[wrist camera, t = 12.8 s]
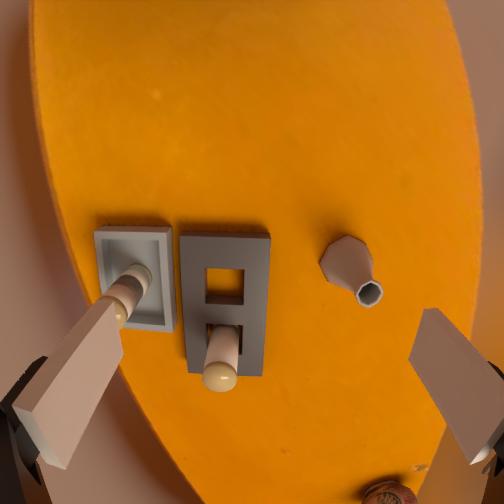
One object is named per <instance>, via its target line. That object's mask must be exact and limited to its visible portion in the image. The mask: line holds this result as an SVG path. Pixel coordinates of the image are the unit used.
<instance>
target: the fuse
mask: <svg viewBox="0 0 504 504" xmlns="http://www.w3.org/2000/svg"><path fill="white" fill-rule="evenodd" d="M239 332H240V329H239V326H238V325H227V324H213V326H212V330H211V335H210V340H209V345H208V349H207V354H206V359H205V364H204V369H203V374H202V381H203V383H204V385H205V386H206V387H207V388H209V389H211V390H213V391H217V392H225V391H228V390H230V389H232V388H233V387H234V386H235V384H236V380H237V364H238V348H239Z"/></svg>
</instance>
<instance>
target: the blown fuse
mask: <svg viewBox="0 0 504 504" xmlns="http://www.w3.org/2000/svg"><path fill="white" fill-rule="evenodd" d="M151 283H152V274H151V272H150V270H149V269H148V268H147V267H146V266H144V265H143V264H139V263H134V264H131V265H130V266H129V267H128V268H127V269H126V270H125V271H124V272H123V273H122V274H121V275H120V276H119V277H118V278H117V279H116V281H115V282H114V283H113V284H112V285H111V286H110V287H109V288H108V289H107V290H106V291H105V293H104V294H103V295H102V296H101V297H100V298H99V299H98V300H108V301H114V306H115V312H116V318H117V324H118V329H119V330H121V329H122V328H123V326H124V325H125V323H126V321H127V320H128V318H129V317H130V315H131V314H132V312H133V311H134V309H135V308H136V306H137V305H138V303H139V302H140V300H141V299H142V297H143V296H144V294H145V293H146V291H147V290H148V288H149V287H150V285H151Z"/></svg>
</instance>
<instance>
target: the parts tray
mask: <svg viewBox="0 0 504 504" xmlns="http://www.w3.org/2000/svg"><path fill="white" fill-rule="evenodd" d="M94 240H95V249H96V258H97V266H98V273H99V280H100V287H101V293H102V295H103V294H104V293H105V291H106V290H107V289H108V288H109V287H110V286H111V285H112V284H113V283H114V282H115V281H116V279H117V278H118V277H119V276H120V275H121V274H122V273H123V272H124V271H125V270H126V269H127V268H128V267H129V266H130V265H131V264H134V263H139V264H143V265H144V266H146V267H147V268H148V269H149V270H150V272H151V274H152V283H151V285H150V287H149V288H148V290H147V291H146V293H145V294H144V296H143V297H142V299H141V300H140V302H139V303H138V305H137V306H136V308H135V309H134V311H133V312H132V314H131V315H130V317H129V318H128V320H127V321H126V323H125V325H124V326H123V328H129V329H139V330H150V331H161V332H174V329H175V326H176V324H177V309H176V295H175V279H174V260H173V236H172V227H168V226H106V225H103V226H101V227H100V228H98V229H97V230H95V231H94Z"/></svg>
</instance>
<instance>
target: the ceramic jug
mask: <svg viewBox="0 0 504 504" xmlns="http://www.w3.org/2000/svg"><path fill="white" fill-rule="evenodd" d="M362 504H418V503H417V499H416V496H415V494H414V493H413V491H412V490H411V489H410V488H408V487H405V486H403V485H400V484H398V483H397V482H396V481H393V480H389V481H385V482H381V483H379V484H376V485H373V486H371V487H370V488H369V489H368V490H367V491H366V492H365V499H364V501H363V502H362Z"/></svg>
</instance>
